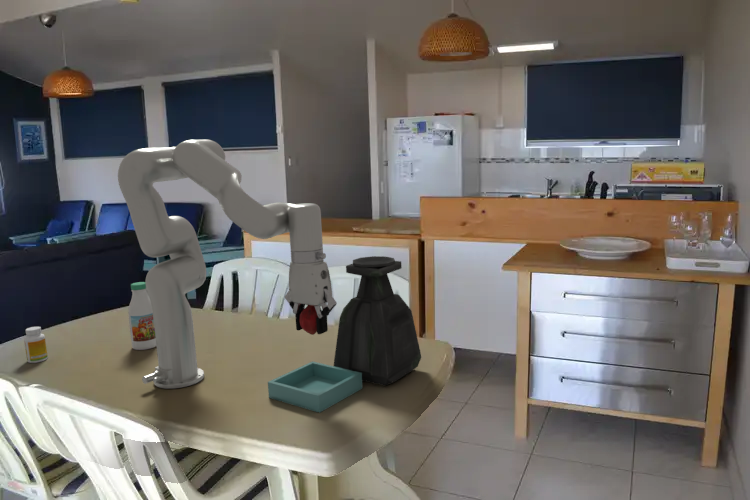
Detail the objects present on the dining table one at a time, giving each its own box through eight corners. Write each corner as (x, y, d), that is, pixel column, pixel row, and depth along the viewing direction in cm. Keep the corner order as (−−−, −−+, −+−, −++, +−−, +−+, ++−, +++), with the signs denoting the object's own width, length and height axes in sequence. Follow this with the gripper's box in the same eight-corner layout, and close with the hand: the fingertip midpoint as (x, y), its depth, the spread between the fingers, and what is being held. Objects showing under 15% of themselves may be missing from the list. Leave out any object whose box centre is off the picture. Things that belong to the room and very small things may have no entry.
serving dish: (319, 412, 139) (318, 395, 138) (268, 397, 148) (267, 381, 147) (362, 388, 151) (361, 372, 151) (313, 376, 161) (312, 361, 160)
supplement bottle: (52, 358, 183) (47, 326, 182) (35, 364, 179) (30, 331, 177) (39, 356, 186) (35, 324, 184) (23, 362, 181) (18, 330, 179)
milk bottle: (126, 349, 189) (119, 285, 185) (144, 341, 196) (137, 279, 192) (146, 351, 186) (139, 286, 182) (164, 343, 193) (157, 281, 189)
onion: (320, 338, 145) (318, 305, 143) (297, 338, 146) (294, 305, 144) (327, 331, 150) (325, 299, 149) (304, 330, 151) (302, 299, 150)
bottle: (331, 377, 159) (325, 263, 154) (368, 358, 172) (363, 252, 167) (390, 391, 149) (385, 269, 144) (424, 369, 162) (421, 257, 157)
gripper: (346, 256, 143) (350, 331, 146) (291, 251, 152) (295, 321, 156) (325, 262, 137) (329, 340, 140) (269, 256, 146) (274, 330, 150)
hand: (311, 330), depth 148 cm, fingers closed on onion, 5 cm apart
